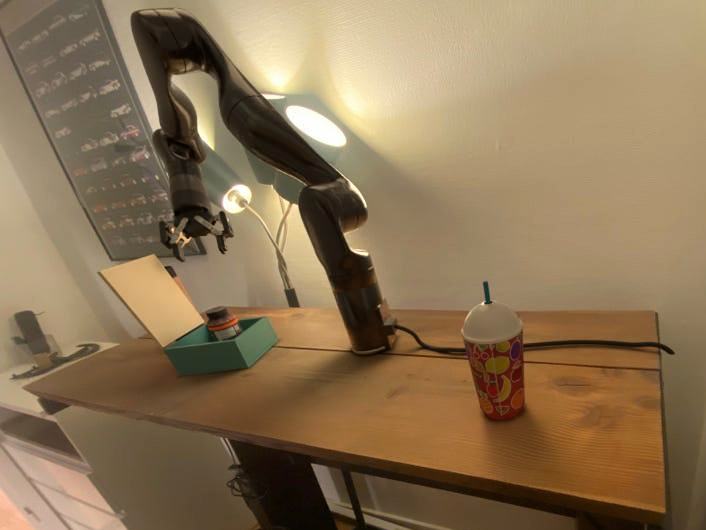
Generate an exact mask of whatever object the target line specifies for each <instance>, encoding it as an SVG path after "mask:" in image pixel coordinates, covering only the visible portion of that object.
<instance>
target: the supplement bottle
mask: <svg viewBox="0 0 706 530" xmlns="http://www.w3.org/2000/svg"><path fill="white" fill-rule="evenodd" d="M204 313H205V316H206V318H208V320H207V321H206V324H207V327H208V329H209V331H210V332H211V334H212V336H213V338H214V339H215V341H216V342H218V341H226V340H234V339H235V338H236V337H238V336H239V335H240V334H242V333H243V330H242V328H241V326H240V324H239V322H238V320H239V319H238V318H237V316H236V315H234V314H233V313H230V312H229V311H228V309H227V307H226V306H225V305H218V306H214V307H212V308H209V309H207V310H206V311H205V312H204Z"/></svg>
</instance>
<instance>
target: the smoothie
mask: <svg viewBox="0 0 706 530" xmlns="http://www.w3.org/2000/svg"><path fill="white" fill-rule="evenodd" d="M482 286H483V294H484V301H481V302H479V303H477V304H476V305H474V306H473V307H472V308H471V309H470V310H469V311H468V313H467V314H466V317H465V319H464V323H463V326H462V327H461V329H460V335H461V337H462V341H463V345H464V348H465V349H466V352H465V353H466V357H467V360H468V364H469V368H470V372H471V377H472V380H473V384H474V387H475V391H476V395H477V400H478V403H479V407H480V409H481V410H482V411H483V412H484V414H485V416H487V417H488V418H490V419H493V420H495V421H504V420H510V419H512V418H515V417H516V416H518V415H519V414H520V412H521V411H522V409H523V406H524V405H525V400H526V397H525V396H526V394H525V393H526V391H525V362H524V361H525V358H524V356H525V355H524V348H523V344H524V329H523V328H524V323H523V321H522V319H520V318H519V317H518V315H517V313H516V311H515V310H514V309H513V308H512V307H511V306H509V305H508V304H506V303H505V302H502V301H499V300H495V299H491V295H490V293H491V292H490V287H489V282H488V280H484V281H482Z"/></svg>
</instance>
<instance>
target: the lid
mask: <svg viewBox="0 0 706 530" xmlns="http://www.w3.org/2000/svg"><path fill="white" fill-rule="evenodd" d="M164 267H165V266H164V265H163V264H162V262H161V261H160V260H159V258H158V257H157V256H156V254H155V253H152V254H149V255H146V256H143V257H140V258H137V259H133V260H130V261H128V262H127V261H126V262H124V263H121V264H117V265H115V266H112V267H111V266H110V267H108V268H105V269H102V270H99V271H96V274H97V275H98V276H99V277H100V279H102V281H103V282H104V283H105V284H106V286H107V287H108V288H109V289H110V290H111V292H112V293H113V294H114V295H115V296H116V297H117V299H118V300H119V301H120V302H121V304H122V305H123V306H124V307H125V308H126V309H127V310H128V312H129V313H130V314H131V315H132V316H133V318H134V319H135V320H136V321H137V323H138V324H139V325H140V326H141V327H142V328H143V330H144V331H145V332H146V333H147V334H148V336H149V337H150V338H151V339H152V340H153V342H154V343H155V344H156V345H157V346H158V347H159V349H162V348H166V346H168V345H171V344H172V343H173V342H176V339H178V338H179V337H181V336H183V335H184V334H186V333H188V332H189V331H191V330H192V329H194V328H196V327H197V326H199V325H201V324H202V323H203V324H205V319H203V317H202V316H201V314H200V313H199V312H198V310H197V308H196V307H195V308H196V309H195V308H194V307H193V305H192V304H191V303H190V301H189V300H188V299H187V297H186V296H185V295H184V293H183V292H182V291H181V289H180V288H179V287H178V285H177V284H176V283H175V281H174V280H173V279H172V277H171V276H170V275H169V273H168V272H167V271H166V269H165V268H164ZM196 310H197V311H196Z"/></svg>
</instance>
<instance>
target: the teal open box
mask: <svg viewBox="0 0 706 530" xmlns="http://www.w3.org/2000/svg"><path fill="white" fill-rule="evenodd" d="M237 320H238V322H239V324H240V326H241V328H242V330H243V333H242V334H240V335H239V336H238V337H236V338H235V339H234V340H226V341H218V342H216V341H215V339H214V338H213V336H212V334H211V332H210V331H209V329H208V327H207V323H203V324H204V325H202V326H201V327H199V328H197V329H196V330H194V331H193V332H191V333H189V334H188V335H186V336H185V337H183V338H181V339H180V340H178V341H174V343H173V342H172V343H171V344H169V346H167V347H164V349H163V352H164V353H165V355H166V357H167V358H168V360H169V361H170V363H171V365H172V367H173V368H174V370H175V371H176V372H177V375H178V376H179V377H183V376H184V377H186V376H192V375H201V374H210V373H218V372H225V371H226V372H227V371H234V370H235V371H236V370H242V369H250V367H252V366H253V365H254V364H255V363H256V362H257V361H258V360H259V359H260V358H262V356H264V355H265V354H266V353H267V352H268V351H269V350H270V349H271V348H272V347H273V346H274V345H276V344H277V343H278V342H279V337H278V336H277V334H276V332H275V329H274V327H273V325H272V323H271V320H270V318H269V316H268V315H263V316H255V317H249V318H248V317H247V318H241V319H237Z"/></svg>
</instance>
